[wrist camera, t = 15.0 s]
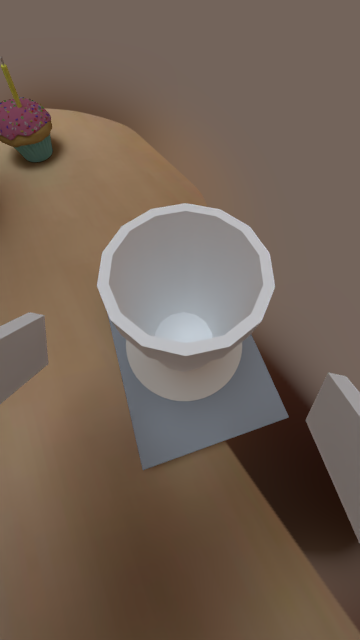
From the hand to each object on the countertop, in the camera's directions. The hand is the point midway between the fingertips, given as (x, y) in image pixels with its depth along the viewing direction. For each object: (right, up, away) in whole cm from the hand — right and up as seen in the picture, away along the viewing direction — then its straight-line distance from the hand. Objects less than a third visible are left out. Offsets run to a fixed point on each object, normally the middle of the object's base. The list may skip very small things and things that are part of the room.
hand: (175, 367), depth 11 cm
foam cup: (+1, 0, +14) cm, 14 cm away
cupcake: (-24, +30, +30) cm, 49 cm away
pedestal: (+1, -1, +17) cm, 17 cm away
